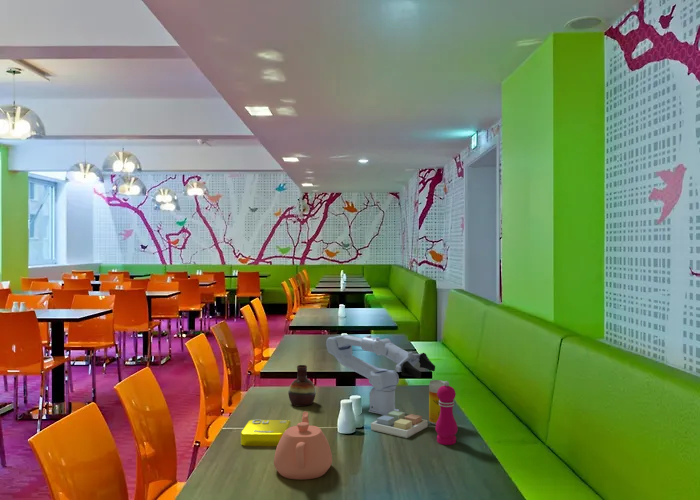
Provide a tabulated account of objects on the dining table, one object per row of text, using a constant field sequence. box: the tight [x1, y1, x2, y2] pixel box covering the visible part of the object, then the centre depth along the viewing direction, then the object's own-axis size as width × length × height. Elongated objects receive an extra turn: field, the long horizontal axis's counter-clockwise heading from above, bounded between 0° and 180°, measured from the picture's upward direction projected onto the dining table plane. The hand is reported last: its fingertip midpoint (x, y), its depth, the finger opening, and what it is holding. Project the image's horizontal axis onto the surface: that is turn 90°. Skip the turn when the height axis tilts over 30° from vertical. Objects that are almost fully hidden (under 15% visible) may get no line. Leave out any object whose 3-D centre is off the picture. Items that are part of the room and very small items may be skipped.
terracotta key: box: [404, 413, 423, 425], centre depth 200 cm, size 4×4×2 cm
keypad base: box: [370, 418, 429, 439], centre depth 200 cm, size 14×14×2 cm
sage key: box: [388, 410, 406, 421], centre depth 205 cm, size 4×4×2 cm
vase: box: [288, 364, 316, 407], centre depth 231 cm, size 11×11×15 cm
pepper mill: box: [434, 380, 459, 446], centre depth 186 cm, size 7×7×20 cm
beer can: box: [428, 379, 445, 426], centre depth 206 cm, size 6×6×15 cm
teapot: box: [273, 411, 333, 480], centre depth 165 cm, size 25×17×13 cm
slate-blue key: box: [376, 415, 395, 426], centre depth 199 cm, size 4×4×2 cm
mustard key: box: [394, 419, 412, 430], centre depth 195 cm, size 4×4×2 cm
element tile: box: [240, 419, 292, 447], centre depth 190 cm, size 15×15×5 cm
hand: (427, 372), depth 204 cm, fingers open, 7 cm apart
